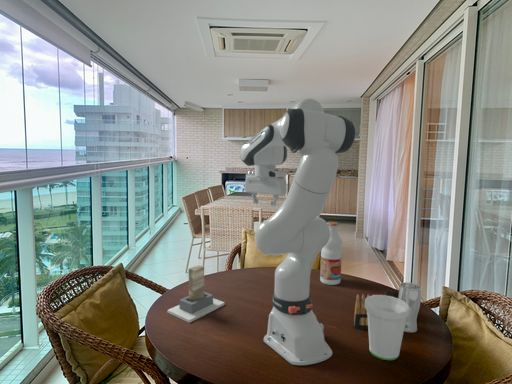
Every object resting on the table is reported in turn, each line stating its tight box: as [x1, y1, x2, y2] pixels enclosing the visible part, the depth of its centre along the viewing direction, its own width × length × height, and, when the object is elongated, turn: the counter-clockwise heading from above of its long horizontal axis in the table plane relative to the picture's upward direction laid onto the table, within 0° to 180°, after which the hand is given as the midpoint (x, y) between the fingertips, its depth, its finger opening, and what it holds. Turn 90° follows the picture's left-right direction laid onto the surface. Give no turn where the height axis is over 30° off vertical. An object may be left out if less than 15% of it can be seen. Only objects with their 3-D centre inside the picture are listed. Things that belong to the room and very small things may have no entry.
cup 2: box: [365, 294, 410, 361], centre depth 100 cm, size 12×12×15 cm
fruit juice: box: [319, 221, 343, 286], centre depth 155 cm, size 9×9×28 cm
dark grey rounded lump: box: [384, 288, 399, 298], centre depth 125 cm, size 8×7×8 cm
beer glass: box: [398, 281, 422, 334], centre depth 114 cm, size 7×7×15 cm
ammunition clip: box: [352, 293, 375, 330], centre depth 114 cm, size 11×2×12 cm, turn 87°
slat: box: [188, 265, 205, 302], centre depth 126 cm, size 3×5×15 cm, turn 142°
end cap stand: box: [166, 291, 226, 324], centre depth 127 cm, size 12×18×4 cm, turn 143°
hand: (264, 204), depth 144 cm, fingers open, 8 cm apart
